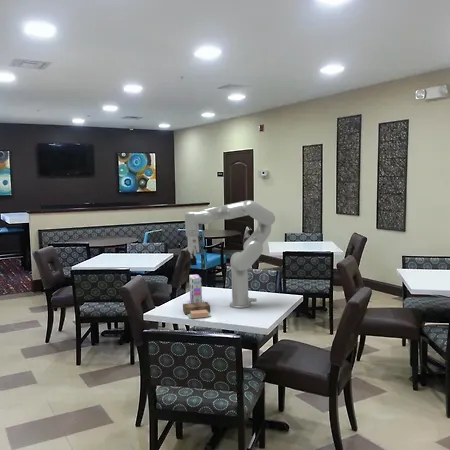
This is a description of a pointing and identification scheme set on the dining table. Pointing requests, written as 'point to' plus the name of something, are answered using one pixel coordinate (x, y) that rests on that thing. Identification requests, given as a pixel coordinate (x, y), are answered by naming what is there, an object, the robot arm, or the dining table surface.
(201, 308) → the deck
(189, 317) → the mat
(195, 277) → the candy box
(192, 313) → the tile
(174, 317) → the dining table surface
